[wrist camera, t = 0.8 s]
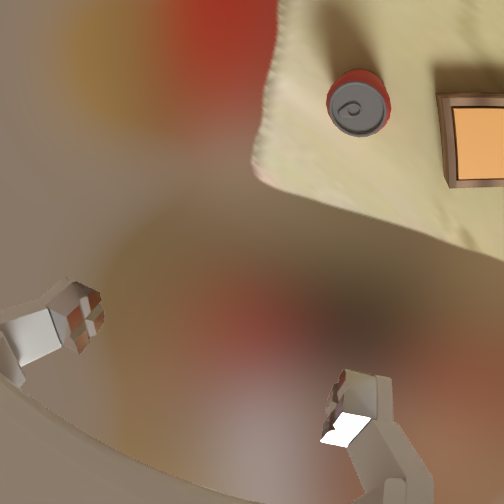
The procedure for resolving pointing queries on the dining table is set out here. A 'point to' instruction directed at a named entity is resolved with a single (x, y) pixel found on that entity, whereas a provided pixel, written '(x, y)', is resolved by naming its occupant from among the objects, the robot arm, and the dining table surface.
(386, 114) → the beer can
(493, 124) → the orange square panel
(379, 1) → the dining table surface
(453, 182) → the checker stand
